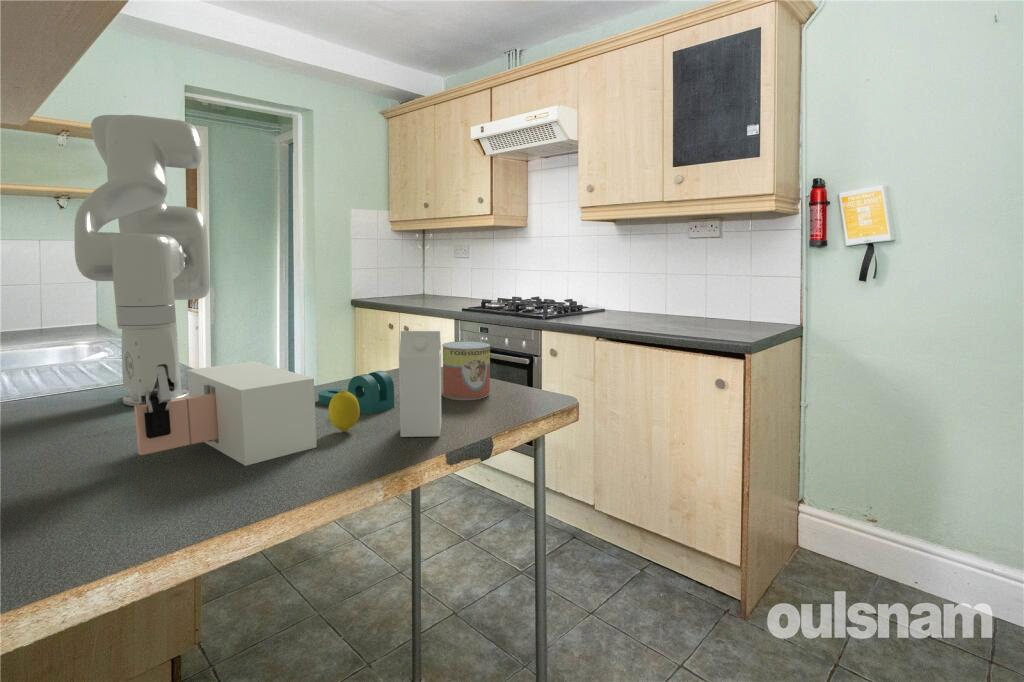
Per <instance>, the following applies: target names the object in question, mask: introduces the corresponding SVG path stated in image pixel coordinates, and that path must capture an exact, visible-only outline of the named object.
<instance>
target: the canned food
mask: <svg viewBox="0 0 1024 682" xmlns="http://www.w3.org/2000/svg"><path fill="white" fill-rule="evenodd" d="M441 347H442V396H443V397H444V398H446V399H449V400H454V401H455V400H456V401H477V399H478V400H482V399H481V398H483V399H486V398H488V397H489V396H491V393H490V392H491V391H490V387H491V386H490V385H491V384H490V383H491V382H490V381H491V380H490V379H491V378H490V377H491V359H490V358H491V344H490V343H488V342H483V341H473V340H468V341H466V340H464V341H463V340H459V341H450V342H445V343H443V344H441ZM487 396H488V397H487ZM485 397H486V398H485Z"/></svg>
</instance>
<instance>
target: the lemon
mask: <svg viewBox="0 0 1024 682" xmlns="http://www.w3.org/2000/svg"><path fill="white" fill-rule="evenodd" d="M360 413H361V412H360V408H359V403H358V400H357V398H356V397H355V396H354V395H353V394H352V393H350V392H347V391H346V390H342V391H341V392H339V393H337V394H336V395H334V396H333V397H332V399H331V401H330V404H329V405H328V418H329V421H330V423H331V425H332V426H333V427H335V428H337V429H339V430H341V432H342V433H343V432H344V433H346V432H348V431H349V429H351V428H353V427H354V426H355V425H356V424H357V423H358V421H359V418H360Z"/></svg>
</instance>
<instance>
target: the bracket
mask: <svg viewBox="0 0 1024 682" xmlns="http://www.w3.org/2000/svg"><path fill="white" fill-rule="evenodd" d="M342 390H346V391H347V392H350V393H352V394H353V395H354V396H355V397H356V398H357V400H358V403H359V408H360V413H365V414H368V415H369V414H370V415H374V414H378V413H381V412H383V411H386V410H390V409H393V408H395V384H394V381H393V379H392V376H391V375H390V374H389V373H387V372H386V371H385V370H375V371H372V372H370V373H365V374H359V375H356V376H353V377H352V378H351V379H350V380H349V382H348V385H347V389H345V388H329V389H323V390H320V391H319V392H318V403H319V404H320V405H325V406H329V404H330V401H331V399H332V397H333V396H334V395H336V394H337V393H339V392H341V391H342Z"/></svg>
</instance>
